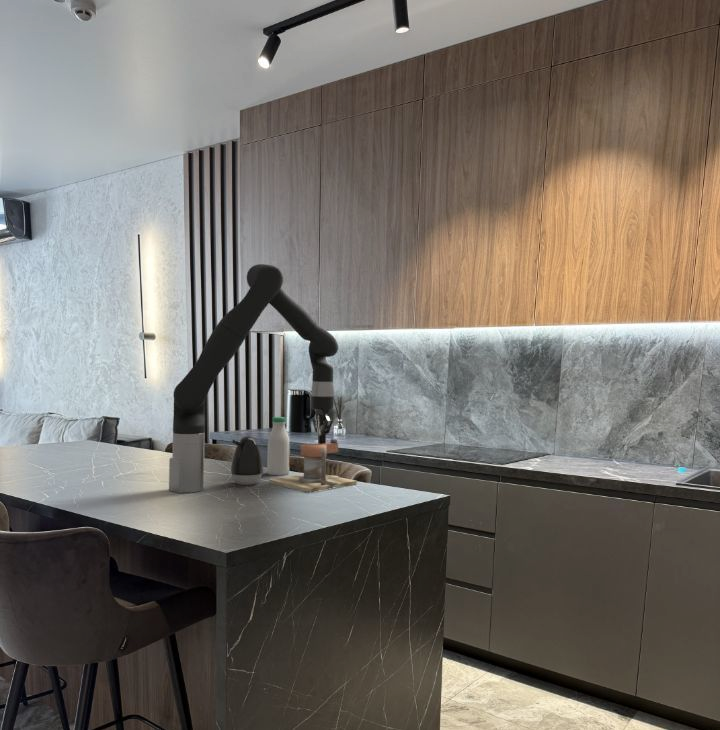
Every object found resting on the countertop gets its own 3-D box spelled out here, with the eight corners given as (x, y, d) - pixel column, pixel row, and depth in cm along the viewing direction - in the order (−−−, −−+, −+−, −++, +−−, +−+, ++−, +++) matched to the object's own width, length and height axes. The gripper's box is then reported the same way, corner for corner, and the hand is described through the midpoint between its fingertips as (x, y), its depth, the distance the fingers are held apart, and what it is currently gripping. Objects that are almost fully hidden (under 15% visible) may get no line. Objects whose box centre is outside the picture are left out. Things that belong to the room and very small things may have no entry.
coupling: (312, 457, 185) (312, 443, 185) (295, 454, 191) (295, 441, 191) (344, 453, 195) (345, 440, 195) (327, 451, 201) (327, 438, 201)
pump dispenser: (224, 483, 190) (224, 435, 190) (252, 479, 197) (253, 433, 197) (239, 488, 182) (240, 438, 182) (268, 484, 189) (269, 436, 189)
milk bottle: (287, 476, 205) (288, 418, 205) (265, 475, 205) (266, 417, 205) (290, 472, 212) (291, 416, 213) (268, 471, 212) (269, 416, 213)
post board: (309, 492, 177) (310, 450, 177) (269, 483, 191) (269, 444, 191) (356, 484, 191) (357, 445, 191) (315, 476, 205) (316, 440, 205)
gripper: (340, 395, 196) (339, 448, 196) (325, 394, 208) (324, 443, 208) (319, 395, 193) (318, 449, 193) (305, 394, 205) (304, 444, 205)
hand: (321, 446), depth 200 cm, fingers closed
